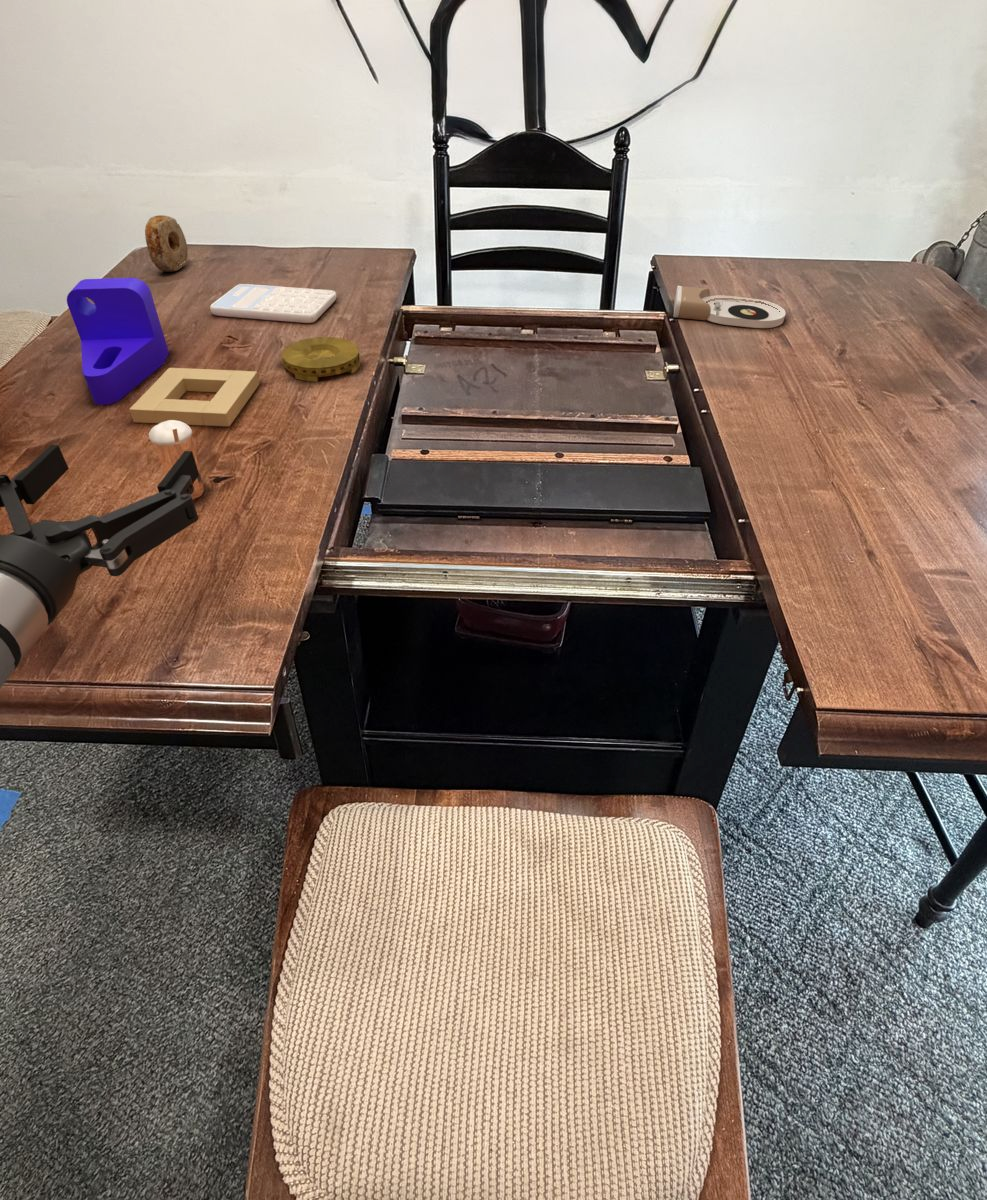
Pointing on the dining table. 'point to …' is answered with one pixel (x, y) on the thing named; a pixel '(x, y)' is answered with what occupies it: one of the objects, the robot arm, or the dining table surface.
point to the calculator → (274, 303)
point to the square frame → (219, 411)
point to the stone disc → (166, 243)
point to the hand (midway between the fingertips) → (126, 459)
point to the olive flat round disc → (321, 357)
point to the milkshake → (174, 447)
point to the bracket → (116, 335)
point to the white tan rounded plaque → (726, 309)
